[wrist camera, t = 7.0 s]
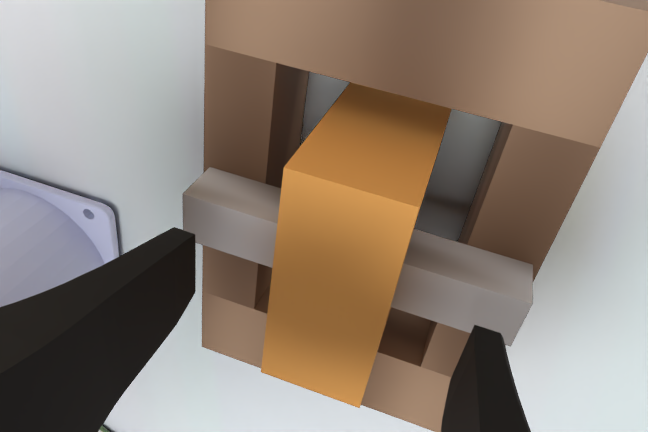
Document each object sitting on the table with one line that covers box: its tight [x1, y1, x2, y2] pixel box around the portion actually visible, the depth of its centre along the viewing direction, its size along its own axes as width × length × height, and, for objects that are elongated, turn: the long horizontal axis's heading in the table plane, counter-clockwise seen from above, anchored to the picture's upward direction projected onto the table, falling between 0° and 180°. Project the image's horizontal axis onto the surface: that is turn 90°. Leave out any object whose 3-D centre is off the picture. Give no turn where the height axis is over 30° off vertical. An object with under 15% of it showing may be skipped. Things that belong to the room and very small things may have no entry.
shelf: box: [183, 0, 648, 432], centre depth 17 cm, size 10×15×5 cm, turn 172°
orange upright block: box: [261, 82, 451, 408], centre depth 16 cm, size 3×7×6 cm, turn 172°
